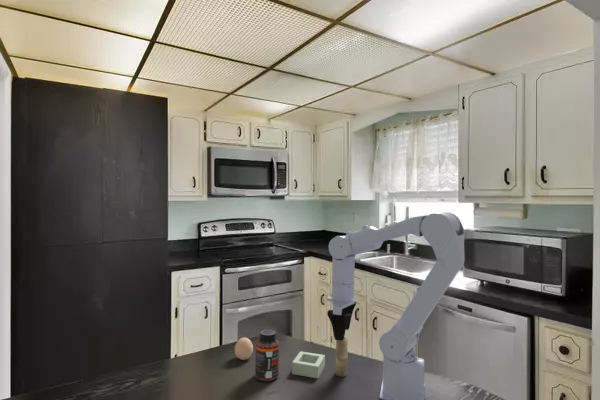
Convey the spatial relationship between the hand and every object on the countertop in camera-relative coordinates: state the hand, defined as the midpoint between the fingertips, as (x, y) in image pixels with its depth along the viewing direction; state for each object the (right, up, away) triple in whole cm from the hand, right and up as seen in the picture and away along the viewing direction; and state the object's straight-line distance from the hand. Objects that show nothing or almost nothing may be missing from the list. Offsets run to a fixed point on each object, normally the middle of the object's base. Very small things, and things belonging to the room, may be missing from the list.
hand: (342, 334), depth 92 cm
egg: (-27, -10, +7) cm, 29 cm away
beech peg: (0, -10, 0) cm, 10 cm away
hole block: (-9, -10, +2) cm, 13 cm away
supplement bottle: (-19, -10, -2) cm, 22 cm away
